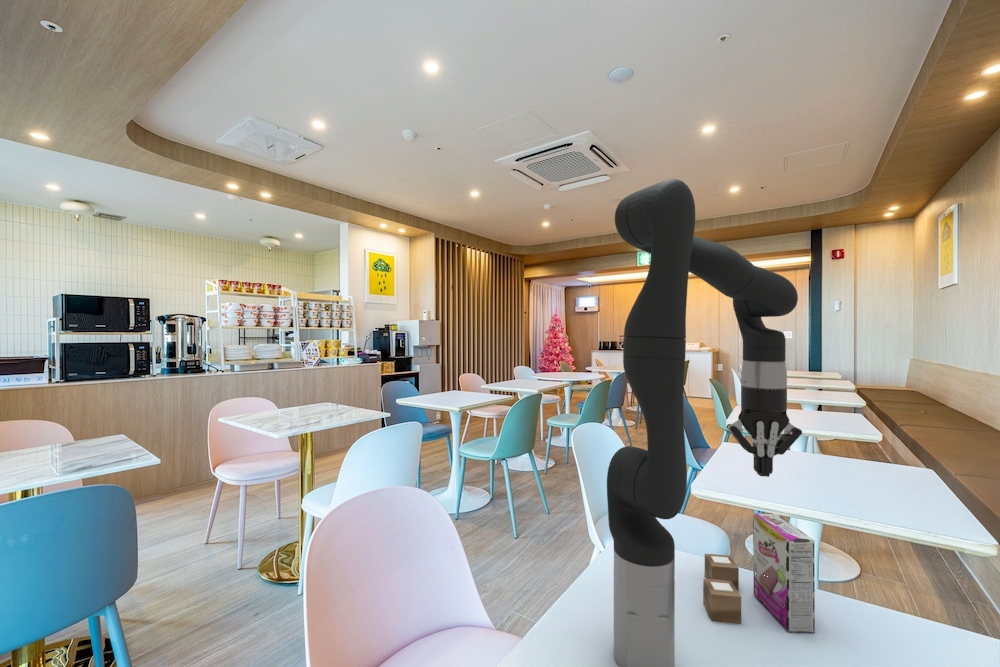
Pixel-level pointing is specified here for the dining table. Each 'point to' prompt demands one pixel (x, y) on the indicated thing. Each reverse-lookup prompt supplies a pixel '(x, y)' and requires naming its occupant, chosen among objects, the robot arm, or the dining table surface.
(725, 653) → the dining table surface
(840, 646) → the dining table surface
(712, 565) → the marked block far
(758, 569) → the candy bar box
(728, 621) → the marked block near
